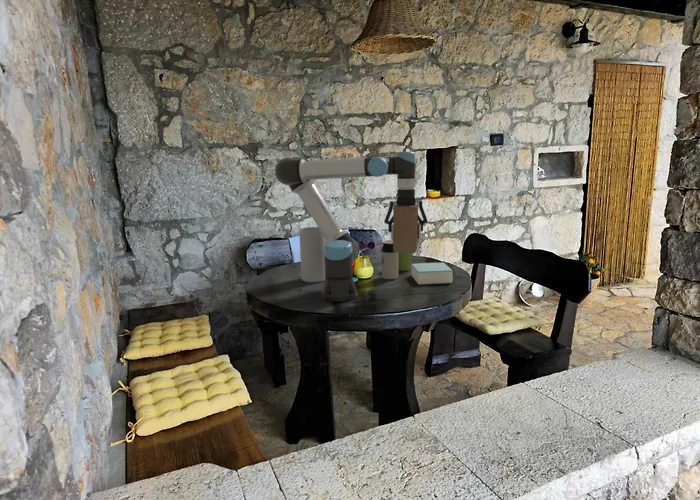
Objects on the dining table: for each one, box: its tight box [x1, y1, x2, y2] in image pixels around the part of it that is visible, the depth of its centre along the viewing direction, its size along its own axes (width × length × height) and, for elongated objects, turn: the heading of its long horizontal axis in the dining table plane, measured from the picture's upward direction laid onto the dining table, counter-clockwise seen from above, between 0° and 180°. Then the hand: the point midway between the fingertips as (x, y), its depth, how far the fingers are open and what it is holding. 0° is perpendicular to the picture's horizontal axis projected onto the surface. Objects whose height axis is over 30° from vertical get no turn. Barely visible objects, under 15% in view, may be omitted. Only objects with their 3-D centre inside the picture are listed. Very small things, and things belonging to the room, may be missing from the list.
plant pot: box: [398, 253, 414, 272], centre depth 244 cm, size 12×12×11 cm
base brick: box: [411, 262, 454, 285], centre depth 224 cm, size 16×16×6 cm
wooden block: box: [392, 203, 419, 254], centre depth 203 cm, size 10×10×20 cm
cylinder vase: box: [298, 226, 326, 284], centre depth 227 cm, size 12×12×25 cm
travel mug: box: [381, 239, 399, 280], centre depth 228 cm, size 8×8×18 cm
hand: (405, 239), depth 204 cm, fingers closed on wooden block, 11 cm apart
